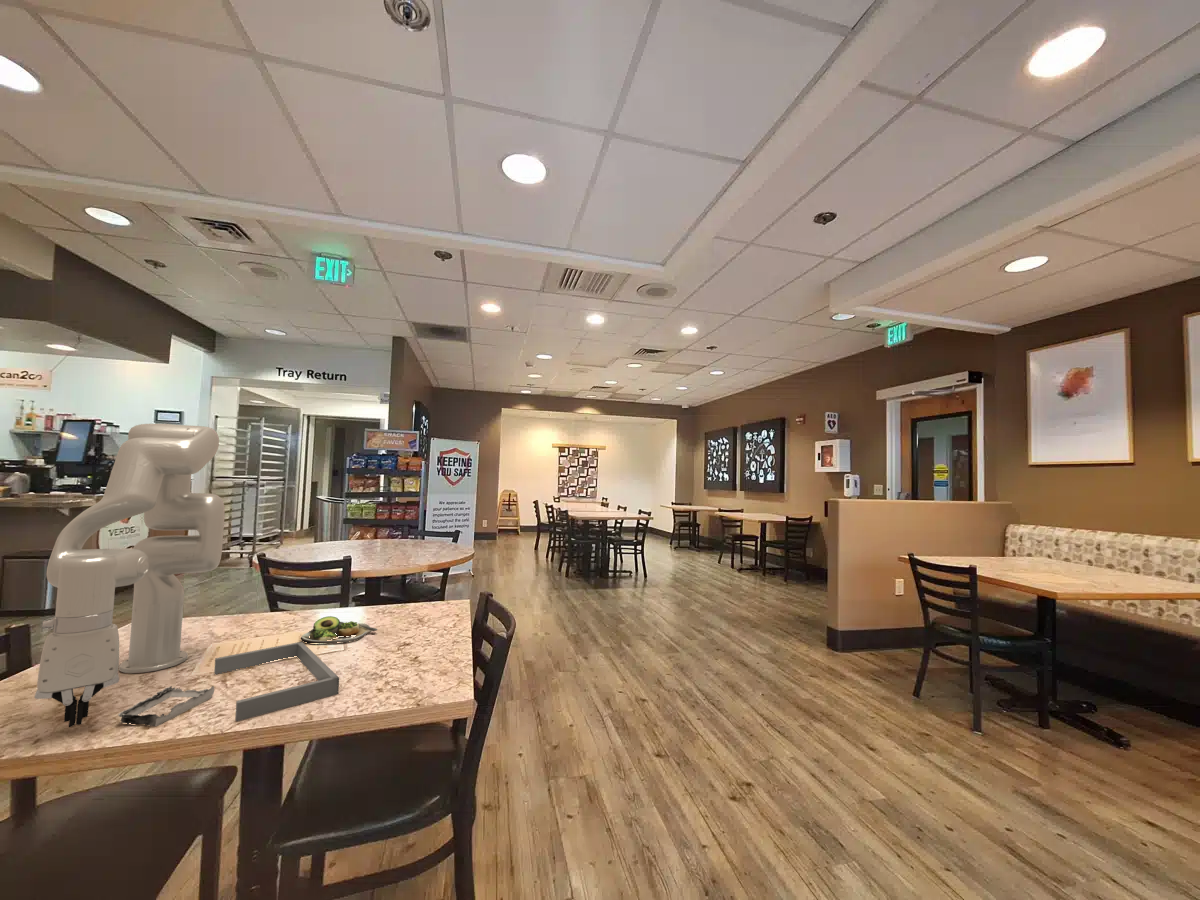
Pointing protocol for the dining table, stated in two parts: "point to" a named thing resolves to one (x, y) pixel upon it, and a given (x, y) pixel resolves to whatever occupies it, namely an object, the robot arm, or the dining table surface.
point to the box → (285, 697)
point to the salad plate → (335, 630)
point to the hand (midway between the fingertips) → (75, 722)
